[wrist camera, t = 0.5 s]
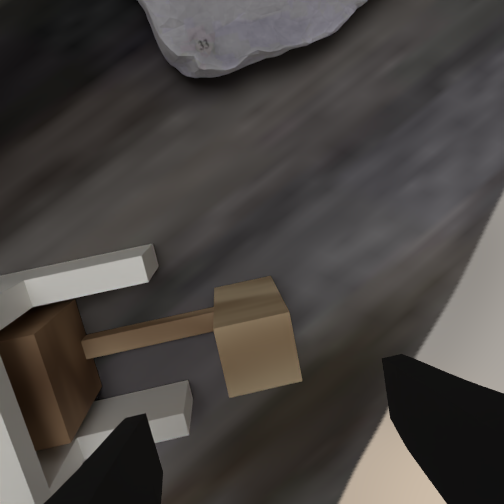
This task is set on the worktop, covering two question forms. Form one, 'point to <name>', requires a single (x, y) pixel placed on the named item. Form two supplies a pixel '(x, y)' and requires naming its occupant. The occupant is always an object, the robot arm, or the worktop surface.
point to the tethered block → (135, 336)
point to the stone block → (239, 30)
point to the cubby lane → (102, 411)
